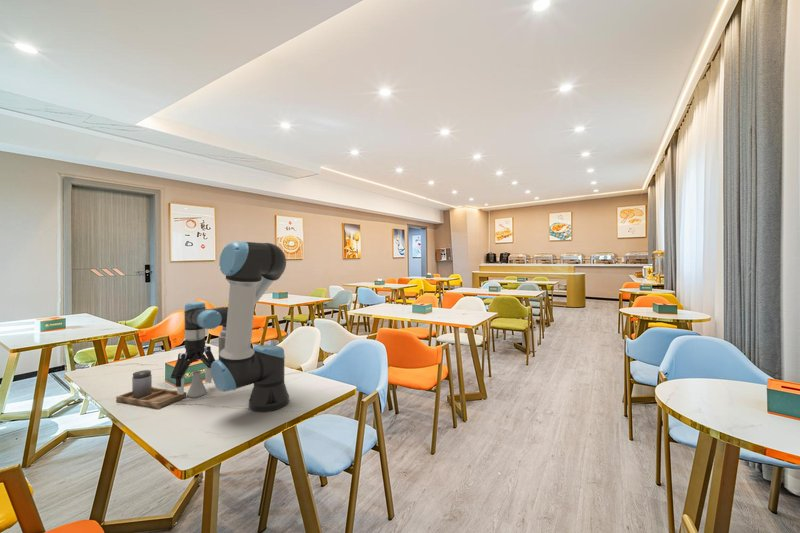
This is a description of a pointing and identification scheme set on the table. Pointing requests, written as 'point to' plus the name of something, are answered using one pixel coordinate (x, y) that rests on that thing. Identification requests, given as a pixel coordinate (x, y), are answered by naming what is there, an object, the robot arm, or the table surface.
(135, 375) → the pepper shaker
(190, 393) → the flask
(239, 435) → the table surface
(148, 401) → the caddy
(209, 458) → the table surface
